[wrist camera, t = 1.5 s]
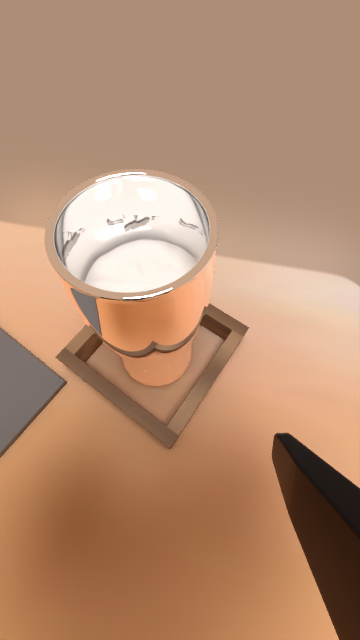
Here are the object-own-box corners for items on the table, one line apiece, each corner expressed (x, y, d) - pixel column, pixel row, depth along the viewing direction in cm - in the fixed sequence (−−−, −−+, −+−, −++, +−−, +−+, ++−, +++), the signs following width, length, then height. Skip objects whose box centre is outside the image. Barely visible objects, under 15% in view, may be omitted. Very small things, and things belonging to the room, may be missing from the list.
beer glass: (104, 339, 24) (13, 201, 11) (170, 304, 26) (165, 146, 12) (140, 408, 22) (82, 343, 8) (211, 365, 23) (262, 249, 10)
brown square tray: (170, 448, 20) (169, 448, 18) (67, 366, 23) (55, 357, 21) (242, 338, 24) (248, 327, 22) (146, 279, 27) (144, 263, 25)
